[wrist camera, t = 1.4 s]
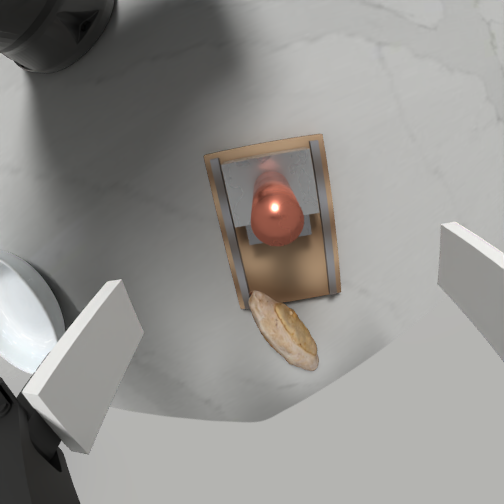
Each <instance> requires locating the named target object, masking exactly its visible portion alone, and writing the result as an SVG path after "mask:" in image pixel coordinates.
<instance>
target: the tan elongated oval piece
mask: <svg viewBox="0 0 504 504" xmlns="http://www.w3.org/2000/svg"><path fill="white" fill-rule="evenodd" d="M249 306H250V310H251V312H252V315H253V318H254V320H255V322H256V324H257V326H258V328H259V330H260V332H261V334H262V335H263V336H264V338H265V340H266V341H267V342H268V343H269V344H270V346H271V347H273V348H274V349H275V350H276V351H277V352H278V353H279V354H280V355H282V356H283V357H284V358H285V359H286V361H287V362H289V364H291V365H295V366H297V367H301V368H302V369H305V370H309V371H314V370H315V369H316V368H317V366H318V362H319V359H318V356H317V347H316V343H315V341H314V339H313V338H312V337H311V335H310V333H309V330H308V329H307V328H306V327H305V326H304V324H303V322H302V321H301V320H300V319H299V318H298V316H297V314H296V313H295V311H294V310H293V309H291V308H289V307H287V306H286V305H285V304H283V303H280V302H276V301H275V300H273V299H272V298H271V297H269V296H267V295H266V294H264V293H262V292H260V291H251V292H250V293H249Z"/></svg>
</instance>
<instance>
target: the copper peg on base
mask: <svg viewBox="0 0 504 504" xmlns="http://www.w3.org/2000/svg"><path fill="white" fill-rule="evenodd" d="M221 167H222V172H223V176H224V181H225V185H226V190H227V194H228V199H229V203H230V208H231V212H232V216H233V221H234V225H235V227H241V226H246V230H247V235H248V239H249V244H250V245H254V244H260V243H265V244H267V245H270V246H284V245H287V244H289V243H291V242H293V241H294V240H295V239H297V237H300V236H306V235H311V234H312V232H311V225H310V218H309V214H315V213H319V206H318V199H317V192H316V185H315V179H314V172H313V166H312V160H311V154H310V149H309V148H306V147H301V148H295V149H289V150H283V151H277V152H271V153H265V154H260V155H255V156H249V157H244V158H239V159H234V160H229V161H225V162H224V163H223V164H222V165H221Z"/></svg>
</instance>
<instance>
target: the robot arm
mask: <svg viewBox="0 0 504 504" xmlns="http://www.w3.org/2000/svg"><path fill="white" fill-rule="evenodd" d="M113 6H114V0H0V53H2V54H3V55H5V56H6V57H7V58H9V59H11V60H14V62H15V63H16V64H17V65H18V66H19V67H21V68H22V69H24V70H27V71H30V72H38V73H52V72H56V71H59V70H61V69H64V68H66V67H67V66H69V65H71V64H72V63H74V62H75V61H77V60H78V59H79V58H80V57H82V56H83V55H84V54H85V53H86V52H87V51H88V50H89V49H90V48H91V47H92V45H93V44H94V43H95V42H96V40H97V39H98V38H99V36H100V35H101V33H102V32H103V30H104V28H105V27H106V25H107V23H108V21H109V18H110V16H111V13H112V10H113ZM437 284H438V285H439V286H440V287H441V288H442V289H443V291H444V292H445V293H446V294H447V295H448V296H449V297H450V298H451V299H452V300H453V301H454V303H456V305H457V306H458V307H459V308H460V309H461V310H462V312H463V313H464V314H465V315H466V316H467V317H468V318H469V320H470V321H471V322H472V323H473V324H474V326H475V327H476V328H477V329H478V330H479V331H480V333H481V334H482V335H483V336H484V338H485V339H486V340H487V341H488V342H489V344H490V345H491V346H492V347H493V349H494V350H495V351H496V352H497V354H498V355H499V356H500V358H501V359H502V360H503V362H504V254H503V253H502V252H501V251H500V250H498V249H497V248H495V247H494V246H492V245H491V244H489V243H488V242H486V241H485V240H483V239H482V238H480V237H479V236H477V235H476V234H474V233H473V232H471V231H469V230H468V229H466V228H465V227H463V226H461V225H460V224H458V223H457V222H451V223H445V224H441V237H440V257H439V271H438V283H437ZM143 335H144V331H143V329H142V327H141V324H140V322H139V320H138V317H137V315H136V313H135V310H134V308H133V306H132V303H131V301H130V298H129V296H128V293H127V291H126V288H125V286H124V283H123V281H122V279H120V280H114V281H107V282H106V283H105V285H104V286H103V287H102V288H101V289H100V290H99V292H98V293H97V294H96V295H95V296H94V298H93V299H92V300H91V301H90V302H89V304H88V305H87V306H86V307H85V308H84V310H83V311H82V312H81V313H80V315H79V316H78V317H77V318H76V319H75V321H74V322H73V323H72V324H71V326H70V327H69V328H68V330H67V331H66V332H65V333H64V335H63V336H62V337H61V338H60V340H59V341H58V342H57V344H56V345H55V346H54V348H53V349H52V350H51V351H50V352H49V353H48V354H47V356H46V357H45V358H44V360H43V361H42V362H41V363H42V364H41V365H39V367H38V368H37V369H36V372H34V373H33V375H32V376H31V378H30V379H29V381H28V382H27V383H26V385H25V386H24V388H23V389H22V391H21V392H20V393H19V395H18V397H17V398H16V397H15V396H14V395H13V393H12V392H11V390H10V389H9V388H8V386H7V385H6V384H5V382H4V381H3V379H2V378H1V377H0V504H80V501H79V499H78V496H77V494H76V491H75V488H74V485H73V482H72V479H71V476H70V473H69V470H68V467H67V464H66V460H65V457H64V454H63V452H62V450H61V449H60V448H59V447H58V445H59V444H60V442H61V440H62V441H63V443H64V444H65V445H66V446H67V447H68V448H69V449H70V450H71V451H74V452H79V453H84V454H89V453H90V451H91V448H92V446H93V444H94V441H95V438H96V436H97V434H98V432H99V429H100V427H101V425H102V422H103V420H104V418H105V416H106V413H107V411H108V409H109V407H110V404H111V402H112V400H113V398H114V396H115V393H116V391H117V389H118V387H119V385H120V383H121V380H122V378H123V376H124V374H125V372H126V370H127V368H128V366H129V363H130V361H131V359H132V357H133V355H134V353H135V351H136V349H137V347H138V345H139V343H140V341H141V339H142V337H143Z"/></svg>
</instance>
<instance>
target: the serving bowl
mask: <svg viewBox="0 0 504 504" xmlns="http://www.w3.org/2000/svg"><path fill="white" fill-rule="evenodd" d="M64 333H65V325H64V320H63V316H62V312H61V309H60V307H59V304H58V302H57V300H56V298H55V296H54V294H53V292H52V291H51V289H50V287H49V286H48V284H47V283H46V282H45V280H44V279H43V278H42V276H41V275H40V274H39V273H38V272H37V271H36V270H35V269H34V268H33V267H32V266H31V265H30V264H28V263H27V262H26V261H25V260H23V259H22V258H20V257H18V256H16V255H14V254H12V253H9V252H6V251H0V355H1V356H2V357H3V358H4V359H5V360H6V361H8V362H9V363H10V364H12V365H13V366H15V367H16V368H18V369H20V370H22V371H24V372H27V373H29V374H32V375H33V373H34V372H36V369H37V368H38V367H39V365H41V364H42V363H41V362H42V361H43V360H44V358H45V357H46V356H47V354H48V353H49V352H50V351H51V350H52V349H53V348H54V346H55V345H56V344H57V342H58V341H59V340H60V338H61V337H62V336H63V335H64Z"/></svg>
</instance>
